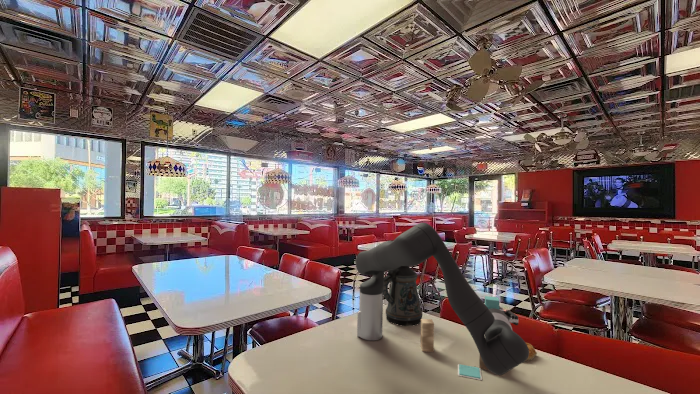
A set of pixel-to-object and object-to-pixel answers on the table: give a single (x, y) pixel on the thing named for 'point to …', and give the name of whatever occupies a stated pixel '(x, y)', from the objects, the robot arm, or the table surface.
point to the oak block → (427, 335)
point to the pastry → (531, 352)
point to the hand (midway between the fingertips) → (491, 307)
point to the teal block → (492, 302)
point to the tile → (469, 372)
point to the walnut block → (482, 364)
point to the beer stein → (402, 297)
